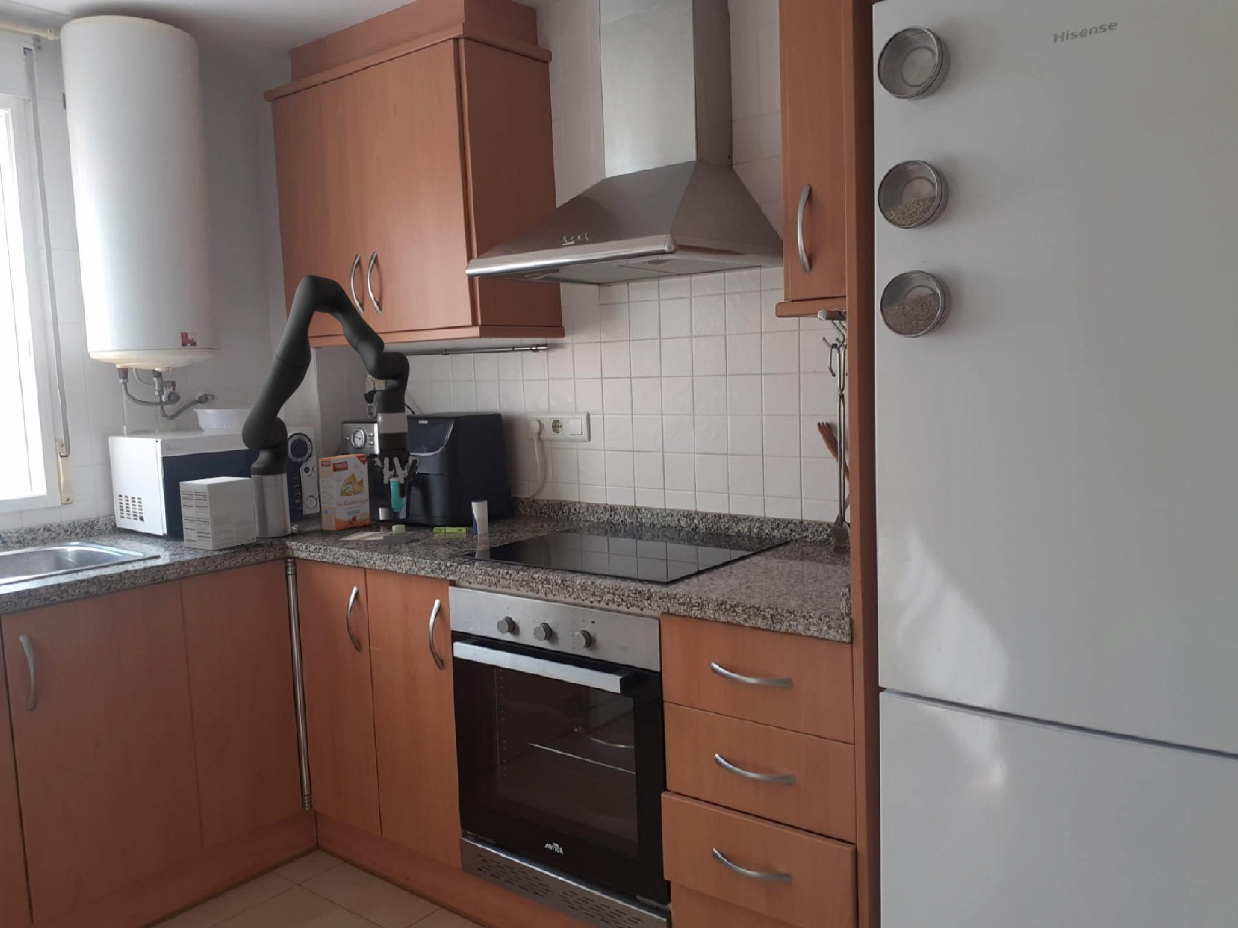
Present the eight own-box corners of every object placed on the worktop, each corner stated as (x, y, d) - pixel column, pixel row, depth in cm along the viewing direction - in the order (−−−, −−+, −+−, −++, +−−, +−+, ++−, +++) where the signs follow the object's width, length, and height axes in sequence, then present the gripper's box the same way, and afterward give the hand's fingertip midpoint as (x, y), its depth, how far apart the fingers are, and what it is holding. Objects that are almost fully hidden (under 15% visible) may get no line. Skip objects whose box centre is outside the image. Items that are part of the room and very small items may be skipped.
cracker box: (337, 532, 275) (332, 458, 273) (321, 531, 277) (316, 458, 275) (372, 524, 287) (367, 453, 285) (356, 523, 290) (351, 453, 288)
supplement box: (227, 538, 271) (223, 476, 269) (257, 542, 264) (252, 477, 262) (183, 547, 260) (177, 481, 258) (212, 550, 253) (207, 483, 251)
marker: (389, 512, 251) (387, 479, 250) (395, 510, 254) (392, 477, 253) (401, 512, 251) (398, 478, 250) (406, 510, 254) (403, 477, 253)
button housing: (383, 545, 251) (383, 535, 251) (393, 541, 257) (393, 531, 256) (405, 545, 249) (404, 535, 249) (415, 541, 255) (414, 531, 255)
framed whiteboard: (334, 542, 258) (333, 539, 258) (357, 534, 271) (357, 531, 271) (390, 542, 255) (390, 539, 255) (411, 534, 267) (411, 531, 267)
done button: (390, 538, 252) (390, 526, 251) (396, 536, 255) (395, 524, 254) (402, 538, 251) (401, 526, 251) (407, 536, 254) (406, 524, 254)
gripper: (360, 432, 248) (365, 500, 250) (412, 430, 245) (416, 499, 247) (374, 430, 255) (378, 496, 257) (424, 428, 252) (428, 495, 254)
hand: (396, 497), depth 252 cm, fingers closed on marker, 3 cm apart
